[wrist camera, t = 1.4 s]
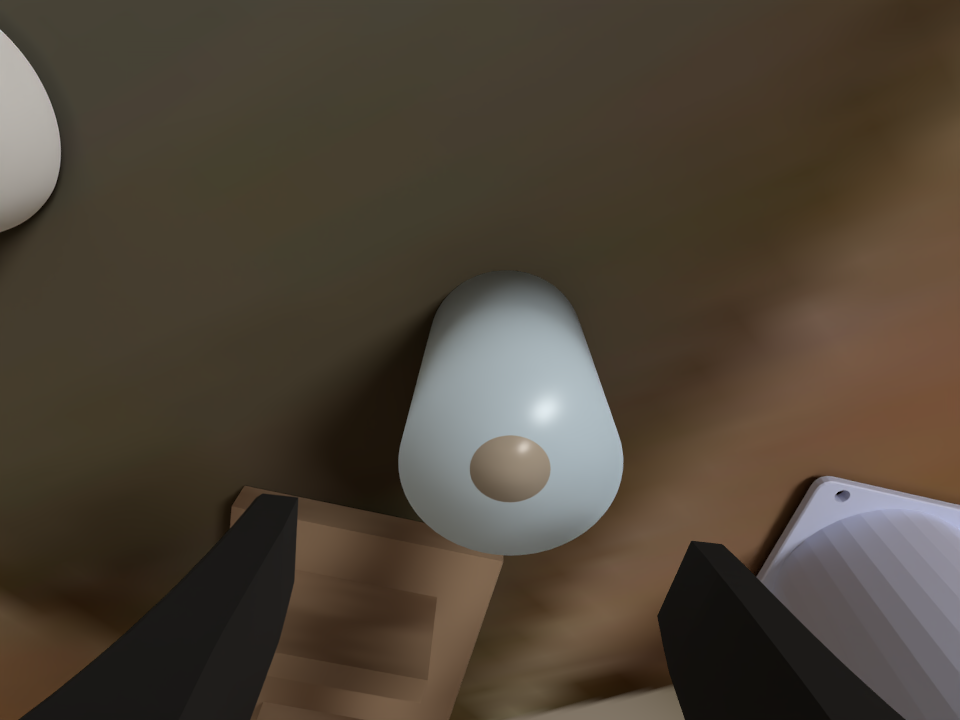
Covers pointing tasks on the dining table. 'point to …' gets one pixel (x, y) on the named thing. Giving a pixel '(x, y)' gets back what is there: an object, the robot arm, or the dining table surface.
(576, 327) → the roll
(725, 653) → the robot arm
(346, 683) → the holder
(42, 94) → the can
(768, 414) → the dining table surface
